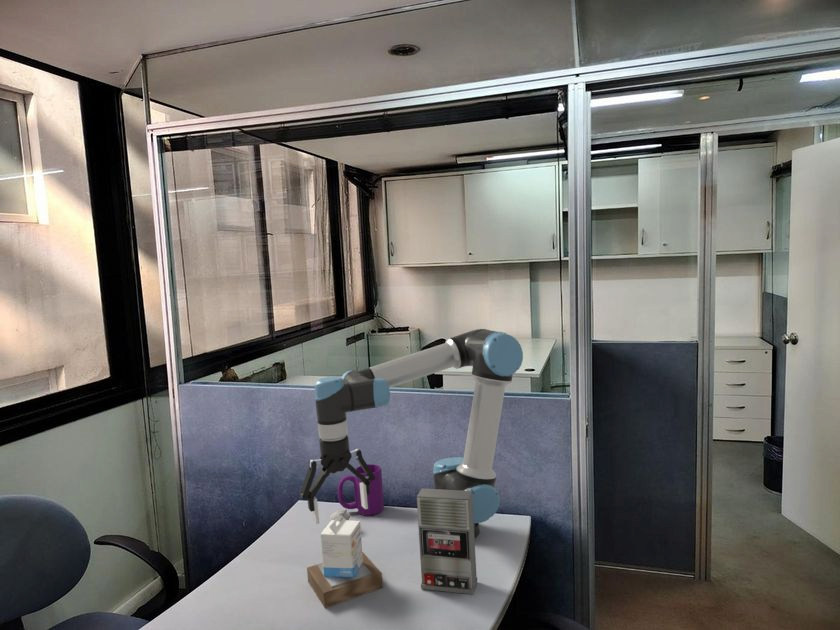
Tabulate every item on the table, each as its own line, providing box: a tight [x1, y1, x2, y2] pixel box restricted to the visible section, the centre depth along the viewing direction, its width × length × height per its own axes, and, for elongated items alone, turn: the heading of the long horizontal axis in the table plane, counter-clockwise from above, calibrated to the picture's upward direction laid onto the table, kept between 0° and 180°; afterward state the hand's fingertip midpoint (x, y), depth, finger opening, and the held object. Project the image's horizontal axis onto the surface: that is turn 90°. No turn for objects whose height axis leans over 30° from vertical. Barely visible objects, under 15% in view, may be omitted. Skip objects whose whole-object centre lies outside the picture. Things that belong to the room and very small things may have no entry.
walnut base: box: [306, 551, 384, 609], centre depth 150 cm, size 16×14×4 cm
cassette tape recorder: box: [416, 488, 478, 595], centre depth 146 cm, size 14×6×25 cm, turn 75°
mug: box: [337, 463, 385, 517], centre depth 194 cm, size 9×16×15 cm, turn 94°
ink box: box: [320, 515, 364, 578], centre depth 150 cm, size 9×8×13 cm
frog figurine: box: [329, 508, 351, 523], centre depth 181 cm, size 6×7×7 cm
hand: (341, 514), depth 149 cm, fingers open, 13 cm apart
